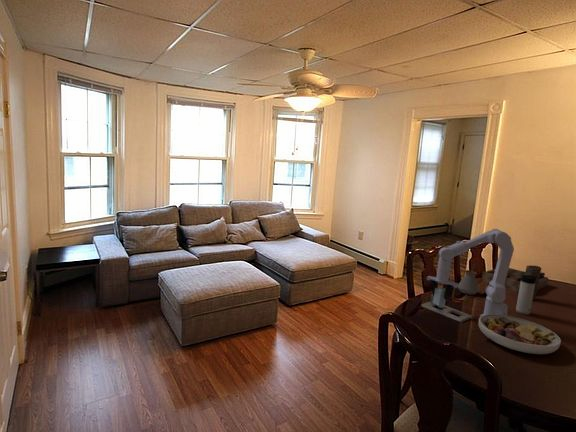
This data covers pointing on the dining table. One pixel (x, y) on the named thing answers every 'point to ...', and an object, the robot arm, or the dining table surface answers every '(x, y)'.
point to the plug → (439, 296)
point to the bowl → (519, 334)
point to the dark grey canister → (534, 272)
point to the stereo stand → (511, 283)
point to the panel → (447, 311)
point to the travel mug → (525, 294)
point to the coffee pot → (469, 283)
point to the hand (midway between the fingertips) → (439, 297)
